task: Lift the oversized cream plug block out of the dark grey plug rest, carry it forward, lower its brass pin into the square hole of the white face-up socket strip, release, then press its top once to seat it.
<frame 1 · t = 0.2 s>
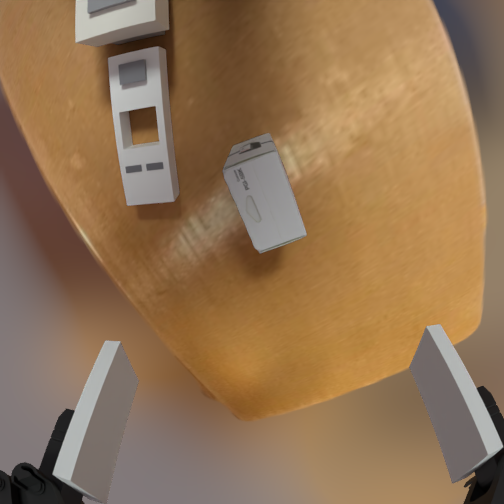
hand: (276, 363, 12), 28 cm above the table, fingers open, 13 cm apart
plug: (138, 9, 25), touching plug rest
ink box: (262, 170, 36), on the table
socket: (147, 125, 33), on the table
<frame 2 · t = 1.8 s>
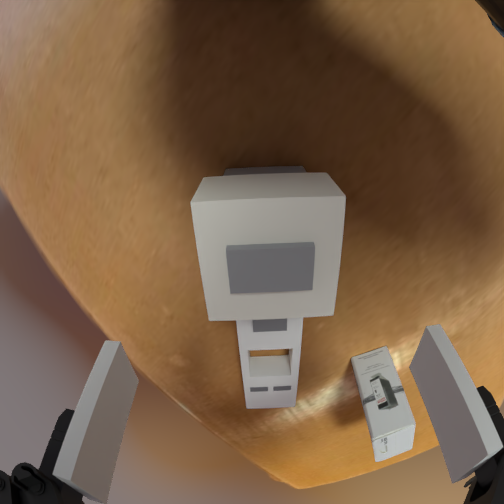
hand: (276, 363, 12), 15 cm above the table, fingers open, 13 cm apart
plug: (266, 216, 25), touching plug rest
ink box: (371, 368, 36), on the table
socket: (269, 343, 33), on the table
plug rest: (265, 213, 25), on the table
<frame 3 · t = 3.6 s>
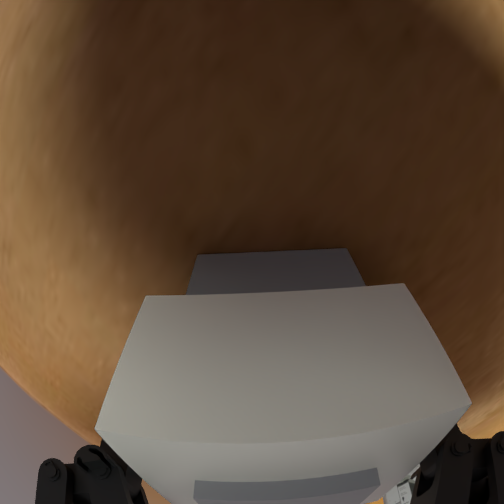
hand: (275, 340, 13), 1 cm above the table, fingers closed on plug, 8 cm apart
plug: (274, 333, 14), point 1 cm above the table, touching gripper, plug rest
ink box: (396, 455, 25), on the table
plug rest: (273, 326, 14), on the table
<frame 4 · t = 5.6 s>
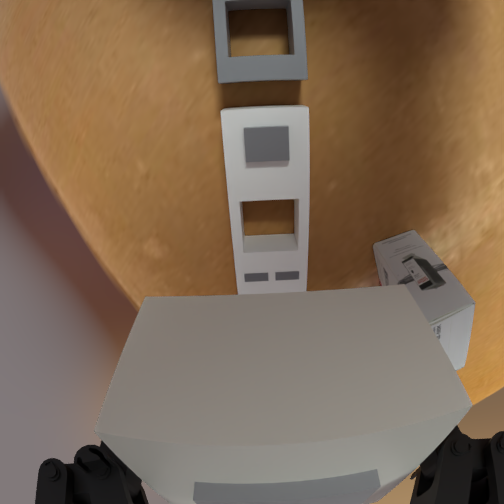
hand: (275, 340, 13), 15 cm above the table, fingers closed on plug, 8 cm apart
plug: (274, 334, 14), point 15 cm above the table, touching gripper
ink box: (397, 268, 30), on the table
socket: (268, 211, 26), on the table
plug rest: (258, 33, 19), on the table
when the fingers open (2 cm above the table, at t = 7.7 s): plug drops 1 cm, resting on socket.
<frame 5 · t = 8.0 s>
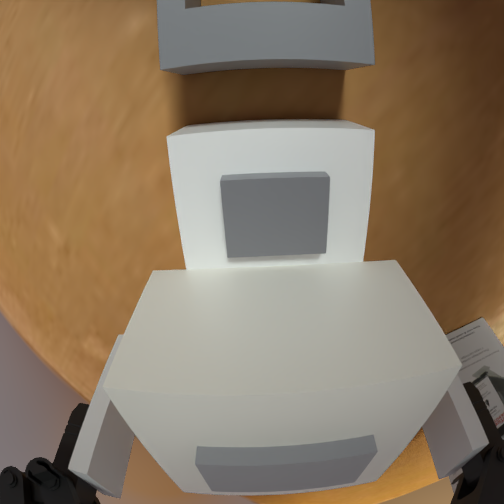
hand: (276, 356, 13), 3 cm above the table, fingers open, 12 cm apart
plug: (274, 314, 14), resting on socket
ink box: (449, 362, 18), on the table
socket: (273, 312, 15), on the table
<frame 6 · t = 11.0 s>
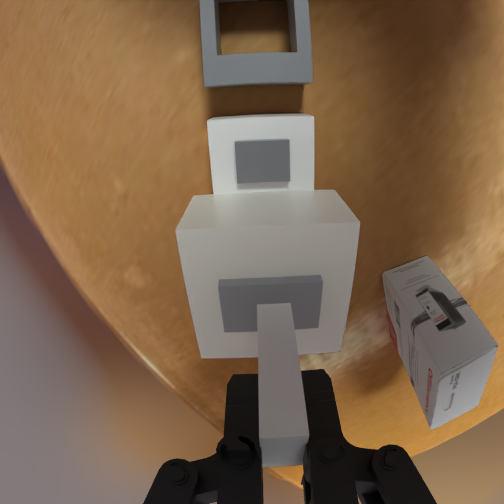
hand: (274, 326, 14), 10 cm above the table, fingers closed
plug: (265, 237, 22), resting on socket
ink box: (407, 297, 26), on the table
socket: (264, 238, 23), on the table
plug rest: (254, 28, 16), on the table
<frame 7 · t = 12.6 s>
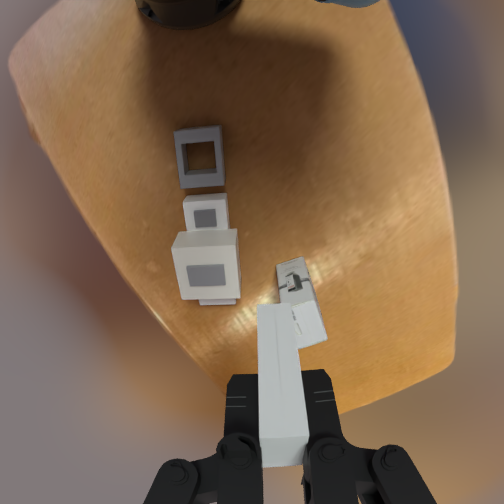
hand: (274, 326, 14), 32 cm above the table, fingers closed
plug: (212, 247, 48), resting on socket
ink box: (296, 279, 52), on the table
socket: (213, 248, 49), on the table
plug rest: (202, 154, 42), on the table
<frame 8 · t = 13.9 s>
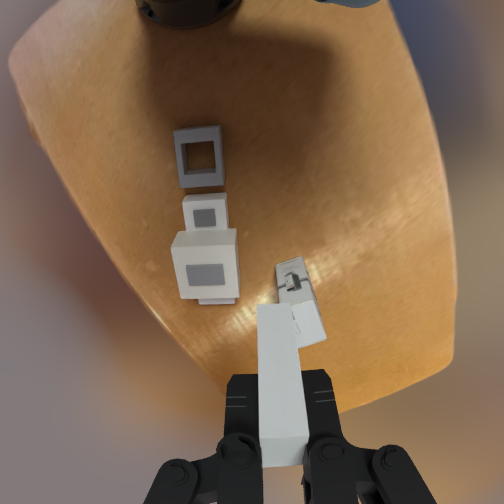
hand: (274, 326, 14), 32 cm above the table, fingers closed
plug: (212, 247, 48), resting on socket
ink box: (295, 278, 52), on the table
socket: (212, 247, 49), on the table
plug rest: (201, 153, 42), on the table
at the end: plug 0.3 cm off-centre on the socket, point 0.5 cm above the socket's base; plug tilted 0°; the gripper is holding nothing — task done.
